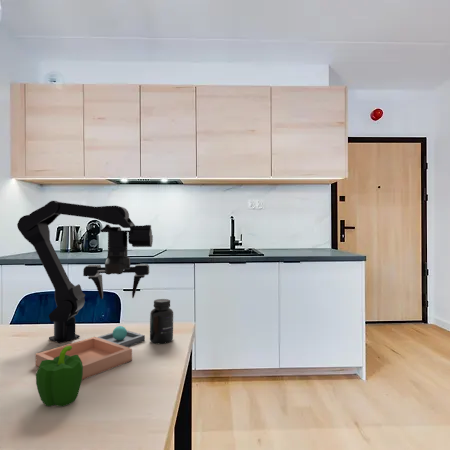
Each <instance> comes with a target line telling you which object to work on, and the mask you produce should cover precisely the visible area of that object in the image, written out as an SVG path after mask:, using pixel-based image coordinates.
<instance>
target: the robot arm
mask: <svg viewBox="0 0 450 450" xmlns="http://www.w3.org/2000/svg"><path fill="white" fill-rule="evenodd" d="M61 215H65V216H72V217H73V216H74V217H81V218H89V219H94V220H98V221H101V222H104V223H107V224H105V226H104V227H102V229H101V230H100V232H101V233H107V257H106V259H105V262H104V266H101V264H88V265H86V266H85V267H84V268H83V270H82V271H83V275H82V276H83V277H87V278H88V279H89V280H92V281H93V283H94V284H95V287H96V289H97V292H98V295H99V298H100V299H101V300H103V298H104V288H103V286H104V285H103V274H105V275H115V274H116V275H122V274H125V273H126V274H128V273H130V274H131V273H133V274H134V276H133V284H132V291H131V297H132V299H134V298H135V295H136V292H137V288H138V285H139V283H140V281H141V279H143V278H145V276H148V275H149V274H150V265H149V264H148V263H138V264H137V263H136V264H135V266H131V257H130V256H128V244H130V245H131V247H132V248H152V247H153V240H154V239H153V238H154V237H153V231H152V225H151V224H145V225H135V223H134V222H133V221H132V220H131V218H130V214H129V211H128V210H127V208H125V207H123V206H119V205H102V206H93V205H84V204H77V203H69V202H62V201H59V200H50V201H49V202H47V203H46V204H45V205H42V206H41V207H39V208H38V209H36V210H33V211H32V212H31V213H29V214H25V215H23V216H21V217H19V220H18V221H17V224H16V225H17V229H18V231H19V232H20V234H21V235H22V237H24V239H25V240H26V241H27V242H28V243H29V244H31V245H32V246H33V248H34V250H35V252H36V253H37V257H38V258H39V260H40V261H41V264H42V266H43V268H44V270H45V272H46V274H47V276H48V278H49V280H50V282H51V285H52V286H53V289H54V301H55V305H56V308H54V309H53V310H52V311H51V312H50V313H49V314H48V318H49V320H50V322H51V323H53V336H49V337H48V340H51V341H53V342H56V343H59V344H61V343H65V342H67V341H72V340H76V339H79V338H81V336H80V335H79V334H76V315H78V313H79V312H80V310H81V309H82V308H83V307H84V305H85V296H86V294H85V293H84V292H83V290H82V286H81V285H80V284H77V285H74V283H72V282H71V281H70V278H69V277H68V274H67V273H66V270H65V268H64V266H63V264H62V262H61V260H60V258H59V256H58V254H57V252H56V250H55V248H54V246H53V244H52V241H51V239H50V238H51V233H50V232H51V231H50V227H49V225H51V224H52V223H53V222H54V221H55V220H56V219H57V218H58V217H59V216H61ZM110 224H111V225H115V226H111V225H110ZM122 228H124V229H129V230H123V229H122Z"/></svg>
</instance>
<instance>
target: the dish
mask: <svg viewBox="0 0 450 450" xmlns="http://www.w3.org/2000/svg"><path fill="white" fill-rule="evenodd" d="M97 337H98V336H93V337H89V338H85V339H82V340H78V341H75V342H71V343H69V344H65V345H61V346H58V347H55V348H51V349H47V350H44V351H41V352H37V353H35V367H36V368H37V369H38V368H39V366H40V364H41V362H42V361H44V360H53V359H54V358H55V357H58V356H60V353H61V351H62V349H63V348H65V347H66V346H72V349H71V350H70V351H67V352H66V354H65V355H68V356H73V355H78V356H79V358H80V359H81V362H82V365H83V376H82V381H84V380H86V379H89V378H91V377H94V376H97V375H99V374H102V373H103V372H106V371H108V370H112V369H114V368H116V367H119V366H121V365H124V364H126V363H127V364H128V363H129V362H131V361H133V348H130V347H129V346H128V347H125V346H122V345H119V344H116V343H113V342H110V341H107V340H104V339H100V338H97Z"/></svg>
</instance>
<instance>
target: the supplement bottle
mask: <svg viewBox="0 0 450 450" xmlns="http://www.w3.org/2000/svg"><path fill="white" fill-rule="evenodd" d="M170 307H171V299H167V298H158V299H155V300H153V309H152V310H150V312H149V313H150V314H149V316H150V317H149V341H150V342H151V344H155V345H166V344H169V343H171V342H172V341H173V339H174V310H173V309H172V308H170Z"/></svg>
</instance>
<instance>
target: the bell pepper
mask: <svg viewBox="0 0 450 450" xmlns="http://www.w3.org/2000/svg"><path fill="white" fill-rule="evenodd" d="M71 349H72V346H66V347H65V348H63V349H62V351H61V353H60V356H58V357H55V358H54V359H53V360H44V361H42V362H41V364H40V366H39V368H38V367H37V371H36V373H35V385H36V388H37V392H38V395H39V399H40V400H41V402H42V403H43V404H44V406H46V407H51V406H52V407H53V406H56V407H64V406H65V407H66V406H69V405H70V404H72V403H73V402H75V401H76V399H77V398H78V396H79V392H80V389H81V386H82V381H83V380H82V376H83V365H82V362H81V359H80V358H79V356H78V355H73V356H68V355H65V354H66V352H67V351H70V350H71Z"/></svg>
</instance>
